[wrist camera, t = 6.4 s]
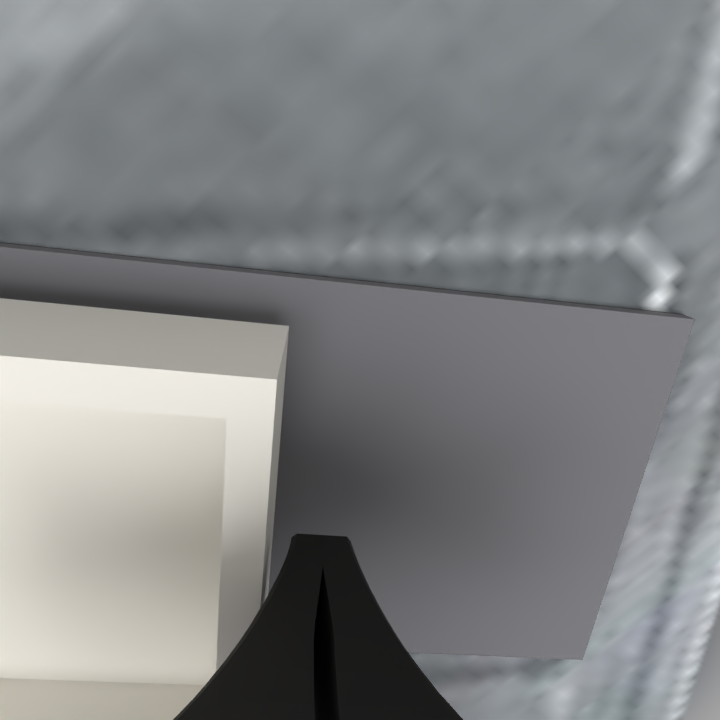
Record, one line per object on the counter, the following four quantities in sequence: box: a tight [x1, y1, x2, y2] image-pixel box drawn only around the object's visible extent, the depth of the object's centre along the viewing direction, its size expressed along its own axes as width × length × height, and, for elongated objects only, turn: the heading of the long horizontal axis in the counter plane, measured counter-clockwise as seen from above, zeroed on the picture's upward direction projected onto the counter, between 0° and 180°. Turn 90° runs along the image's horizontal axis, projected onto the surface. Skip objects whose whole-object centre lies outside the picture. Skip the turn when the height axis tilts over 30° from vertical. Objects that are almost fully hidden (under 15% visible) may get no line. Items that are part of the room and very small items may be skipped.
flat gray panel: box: [0, 243, 695, 660], centre depth 16 cm, size 12×23×1 cm, turn 83°
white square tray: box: [0, 298, 289, 720], centre depth 13 cm, size 11×11×5 cm
